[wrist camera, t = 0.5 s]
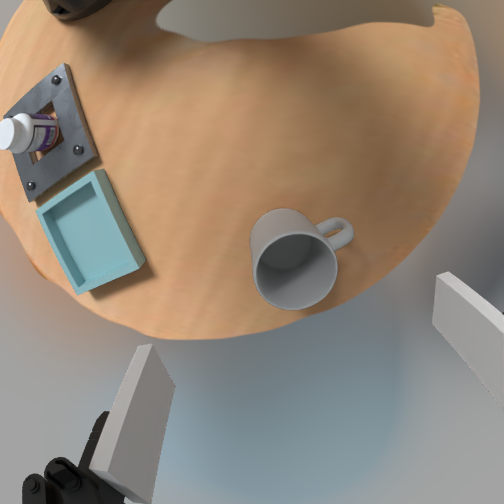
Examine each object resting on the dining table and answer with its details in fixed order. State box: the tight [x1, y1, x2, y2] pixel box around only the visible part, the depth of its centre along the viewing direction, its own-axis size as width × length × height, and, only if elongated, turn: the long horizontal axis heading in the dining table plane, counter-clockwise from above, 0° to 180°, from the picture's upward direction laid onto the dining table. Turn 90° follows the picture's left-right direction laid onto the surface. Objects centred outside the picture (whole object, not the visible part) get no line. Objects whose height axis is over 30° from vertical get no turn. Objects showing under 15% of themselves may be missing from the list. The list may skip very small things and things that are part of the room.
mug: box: [250, 208, 354, 310], centre depth 32 cm, size 12×8×11 cm
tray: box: [36, 169, 146, 295], centre depth 35 cm, size 14×12×3 cm
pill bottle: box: [0, 113, 59, 154], centre depth 27 cm, size 5×5×10 cm
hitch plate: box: [3, 63, 99, 203], centre depth 30 cm, size 16×14×2 cm
